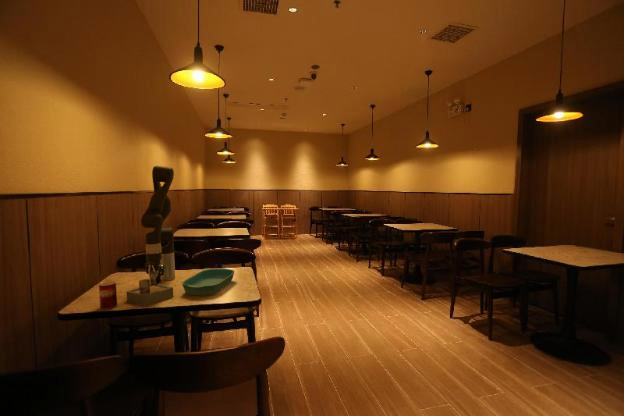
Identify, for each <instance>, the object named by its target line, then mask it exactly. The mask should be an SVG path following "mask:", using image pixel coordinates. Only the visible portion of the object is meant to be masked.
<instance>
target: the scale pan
mask: <svg viewBox="0 0 624 416" xmlns="http://www.w3.org/2000/svg"><path fill="white" fill-rule="evenodd" d="M164 289H167V288H163V287H159V286H154V285H153V286H150V292H148V293H139V290H137V291H133V292H136V293H139V294H143V295H148V294H151V293H154V292H158V291H161V290H164Z"/></svg>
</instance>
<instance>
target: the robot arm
mask: <svg viewBox="0 0 624 416" xmlns="http://www.w3.org/2000/svg"><path fill="white" fill-rule="evenodd" d="M151 174H152V175H151V177H152V186H153V194H152V196H151V198H150V199H149V200H150V201H149V204H148V207H147V208H146V210H145V212H144V213H143V215H141V219H140V225H141V226H142V227H143V228H145V229H152V228H153V231H150V232H147V233H145V259H146V260H145V261H146V262H145V263H144V268H145V273H146V274H147V275H148V276H149V278H150V273H151V272H154V273H155V274H156V284H159V283H160V284H161V283H162V282H163V281H172V280H175V279H176V267H175V264H176V263H175V247H174V246H175V244H174V240H175V239H174V237H175V232H174V229H173V227H163V225H164V221H166V220H167V217H168V216H169V215H170V213H171V210H172V202H171V198H170V197H169V196H168V193H169V190H170V188H171V186H172V183H173V181H174V177H175V172H174V168H173V167H169V166H162V165H155V166H153V168H152V170H151ZM161 183H163V184H161ZM162 243H167V244H165V245H164V246H162ZM157 272H158V273H157Z"/></svg>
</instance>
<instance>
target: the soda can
mask: <svg viewBox="0 0 624 416" xmlns="http://www.w3.org/2000/svg"><path fill="white" fill-rule="evenodd" d="M117 293H118V292H117V283H116V281H111V280H110V281H104V282H101V283H100V284H99V285H98V294H99V308H100V309H101V308H102V309H101V310H110V309H113V307H114V308H116V307H117V305H118V294H117ZM109 308H110V309H109Z"/></svg>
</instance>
